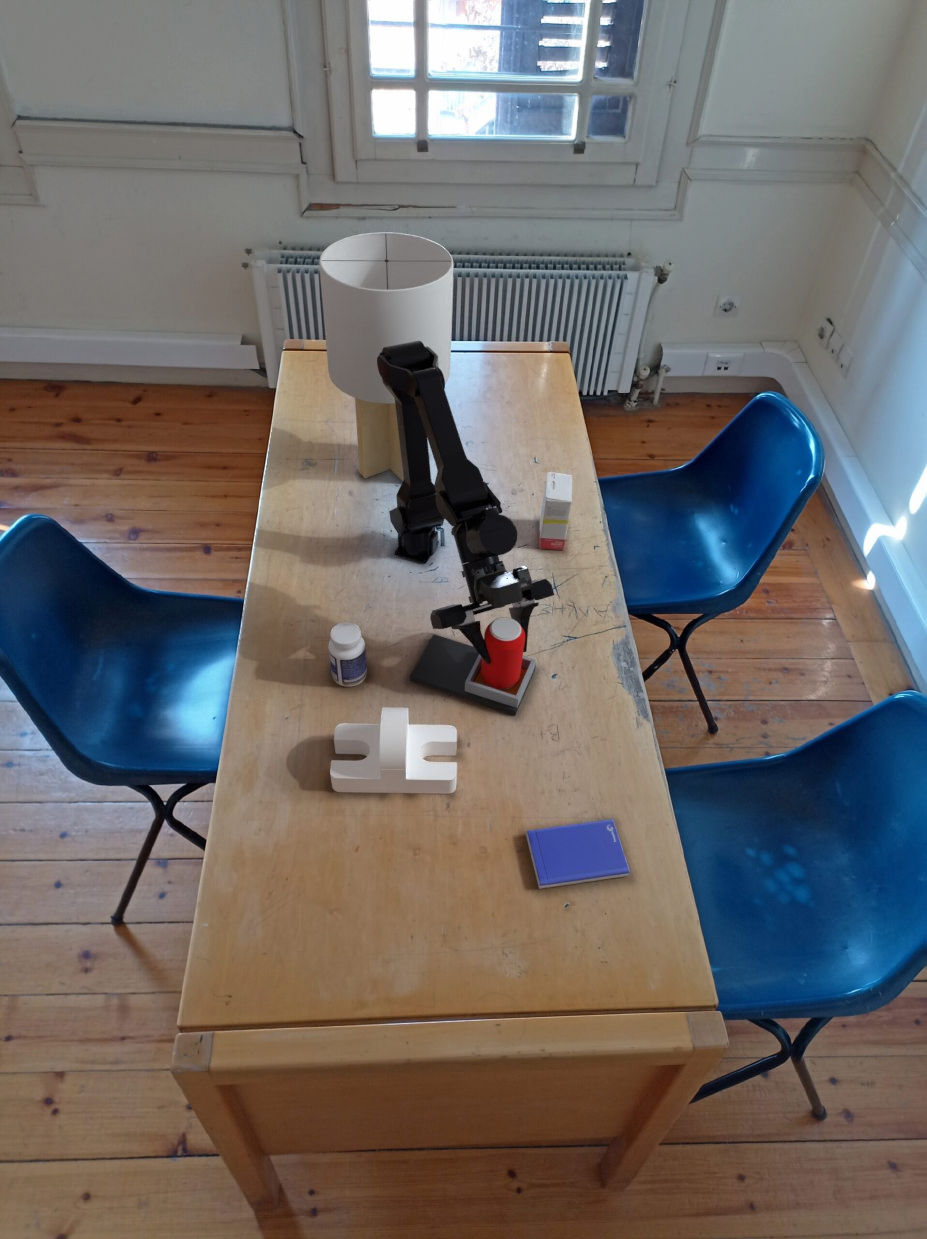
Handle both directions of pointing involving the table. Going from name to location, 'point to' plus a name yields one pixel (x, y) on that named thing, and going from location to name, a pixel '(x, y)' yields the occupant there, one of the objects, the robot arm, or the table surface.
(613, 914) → the table surface
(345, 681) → the pill bottle
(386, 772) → the white slotted fin bracket
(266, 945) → the table surface
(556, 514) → the ink box
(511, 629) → the beverage can
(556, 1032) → the table surface
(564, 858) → the hard drive
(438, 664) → the black tray with frame
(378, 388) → the lamp
